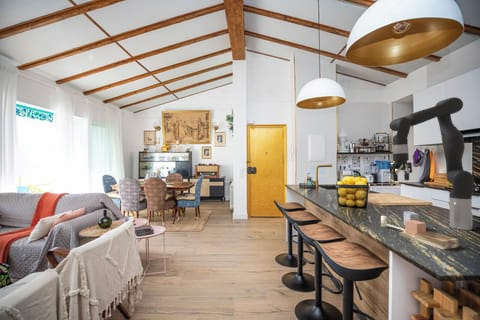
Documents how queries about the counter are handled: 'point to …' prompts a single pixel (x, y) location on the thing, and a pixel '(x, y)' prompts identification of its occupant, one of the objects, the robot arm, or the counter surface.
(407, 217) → the medicine box
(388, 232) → the counter surface
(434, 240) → the lane board
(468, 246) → the counter surface
